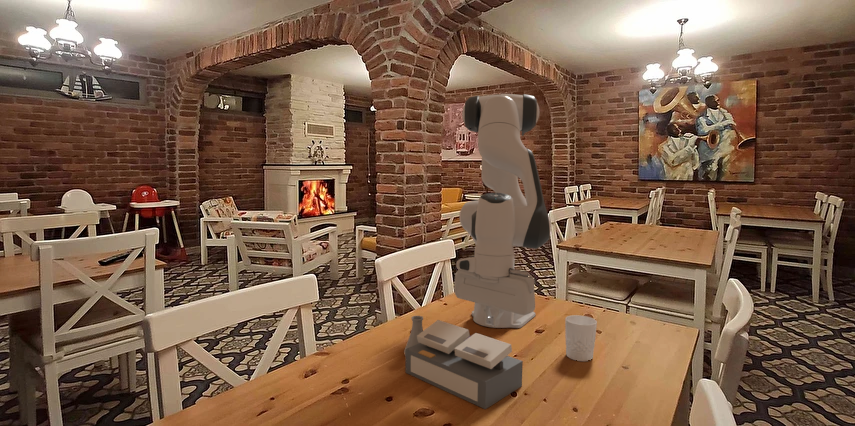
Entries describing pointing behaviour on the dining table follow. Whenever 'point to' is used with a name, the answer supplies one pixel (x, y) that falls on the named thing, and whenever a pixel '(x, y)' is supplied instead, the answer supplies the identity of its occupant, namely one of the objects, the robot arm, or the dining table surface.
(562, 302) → the dining table surface
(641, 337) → the dining table surface
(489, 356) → the switch
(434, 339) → the switch
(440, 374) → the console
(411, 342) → the flask
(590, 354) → the white cup
